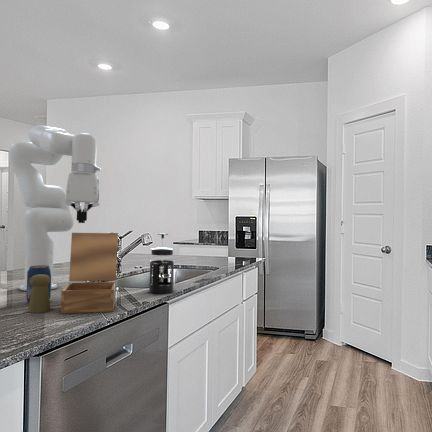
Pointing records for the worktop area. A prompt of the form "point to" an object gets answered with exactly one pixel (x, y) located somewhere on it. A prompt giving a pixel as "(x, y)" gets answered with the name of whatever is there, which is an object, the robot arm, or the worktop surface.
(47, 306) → the cork
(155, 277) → the french press
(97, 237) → the lid
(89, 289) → the chest
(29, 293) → the soda can
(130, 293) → the worktop surface
